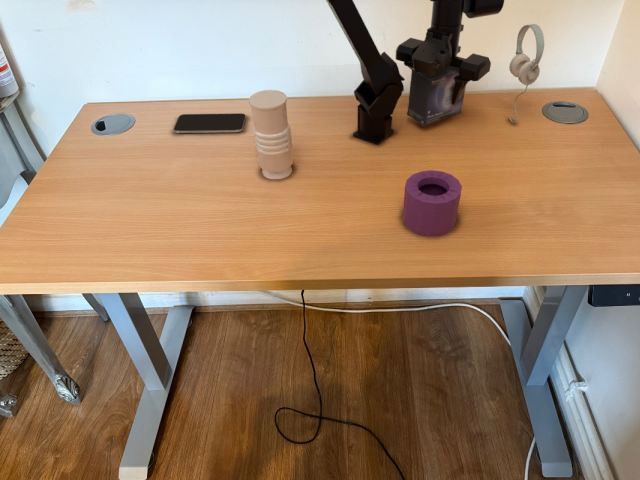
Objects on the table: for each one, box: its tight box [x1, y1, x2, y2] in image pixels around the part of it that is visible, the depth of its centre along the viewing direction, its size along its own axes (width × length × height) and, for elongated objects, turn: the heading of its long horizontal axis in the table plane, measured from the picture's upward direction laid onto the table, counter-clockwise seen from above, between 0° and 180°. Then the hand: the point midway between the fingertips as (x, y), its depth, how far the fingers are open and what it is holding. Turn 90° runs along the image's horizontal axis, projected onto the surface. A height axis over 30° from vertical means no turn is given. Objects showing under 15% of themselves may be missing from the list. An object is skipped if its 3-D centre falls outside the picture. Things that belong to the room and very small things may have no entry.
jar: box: [402, 169, 463, 237], centre depth 91 cm, size 9×9×7 cm
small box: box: [406, 66, 467, 127], centre depth 112 cm, size 11×6×10 cm, turn 122°
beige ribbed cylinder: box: [248, 89, 294, 180], centre depth 100 cm, size 7×7×15 cm
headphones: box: [508, 23, 545, 124], centre depth 108 cm, size 8×4×20 cm, turn 13°
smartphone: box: [173, 112, 247, 134], centre depth 118 cm, size 7×1×15 cm
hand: (437, 99), depth 113 cm, fingers closed on small box, 7 cm apart
